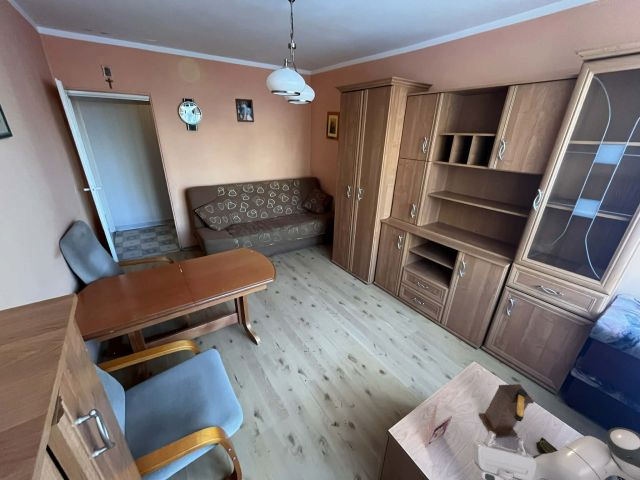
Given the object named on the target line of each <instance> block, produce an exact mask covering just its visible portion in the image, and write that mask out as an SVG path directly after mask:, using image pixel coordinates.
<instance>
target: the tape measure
mask: <svg viewBox="0 0 640 480" xmlns="http://www.w3.org/2000/svg"><path fill="white" fill-rule="evenodd" d="M535 445H536V449H537V451H538V452H539V454H548V453H553V452H556V451H558V449H557V448H556V447H555V446H553V445H552V444H551V443H550V442H549V441H548V440H546V438H545V437H540V438H539V441H537V442H536V443H535Z"/></svg>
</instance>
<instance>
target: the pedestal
mask: <svg viewBox="0 0 640 480" xmlns="http://www.w3.org/2000/svg"><path fill="white" fill-rule="evenodd" d="M519 389H523V390H525V389H524V387H523V386H522V385H521V384H520V383H518V384H517V383H516V384H499V385H498V388H497V390H496V391H495V394H494V395H493V397H492V399H491V400H490V403H489V404H488V407H487V408H486V410H485V412H482V413H481V412H480V413H479V414H478V417H479V419H480V421H481V422H482V424H483V426H484V428H485V429H486V431H487V433H489V431H493V432H494V433H495V434H496V436H495V437H496V439H503V438H516V437H517V438H518V433H517V431H516V430H515V429H514V427H515V426H516V425H517V423H518V421H517V420H516V419H515V418H514V415H515V413H516V412H517V402H518V398H517V397H516V393H517V391H518V390H519ZM534 403H535V401H534V399H532V397H531V396H530V395H529V394H528V395H527V397H526V398H525V401H524V411H525V410H526V409H527V407H528V405H529V404H534Z"/></svg>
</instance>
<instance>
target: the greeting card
mask: <svg viewBox="0 0 640 480" xmlns="http://www.w3.org/2000/svg"><path fill="white" fill-rule="evenodd" d="M437 406H438V404H437V403H436V405H435V407H434V410H433V412H432V415H431V417H430V418H429V419H430V420H429V422H428V427H427V434H426V441H425V447H424V448H428V447H429V446H431V445H432V444H433V443H435V442H436V441H438V440H439V439H440V438H442V437H443V436H444V435H445V433H446V431H447V428H448V426H449V424H450V423H451V420H452V418H453V415H450V416H449V417H447V418H446V419H445V420H442V421H441V422H440V423H438V424H437V425H435V422H436V415H437Z"/></svg>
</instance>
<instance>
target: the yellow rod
mask: <svg viewBox="0 0 640 480" xmlns="http://www.w3.org/2000/svg"><path fill="white" fill-rule="evenodd" d="M523 389H524V388H523ZM523 389H519V390H518V391H517V393H516V397H517V398H518V402H517V412H516V413H515V415H514V418H515V419H516V420H517V422H519V423H520V422H522V421H523V419H524V413H525V410H524V401H525V398H526V397H527V395H529V394H528V392H527V391H526V390H525V389H524V390H523Z"/></svg>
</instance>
